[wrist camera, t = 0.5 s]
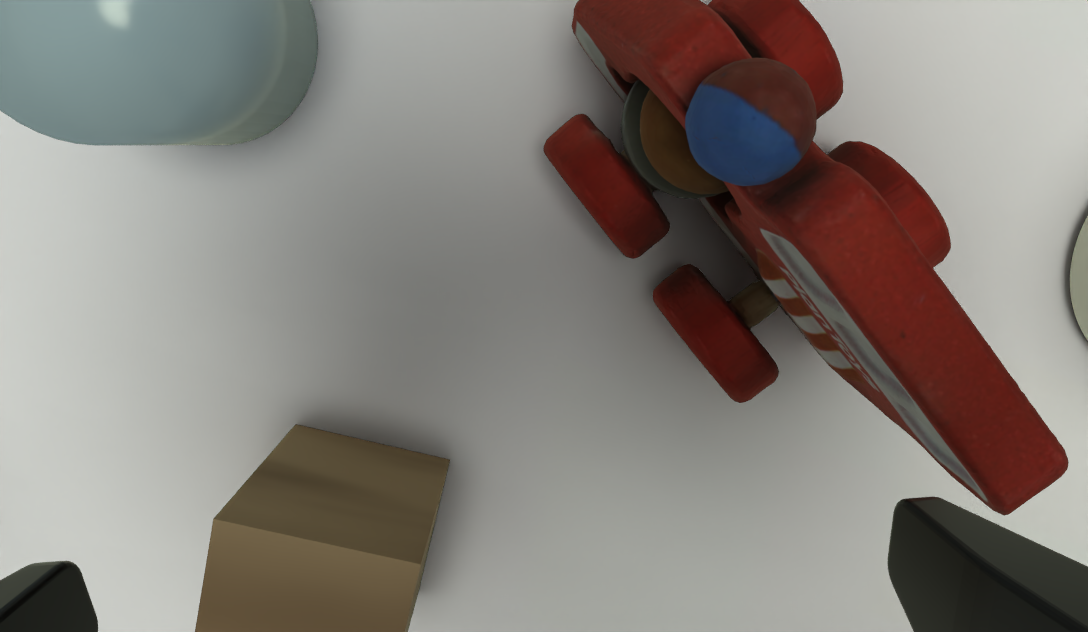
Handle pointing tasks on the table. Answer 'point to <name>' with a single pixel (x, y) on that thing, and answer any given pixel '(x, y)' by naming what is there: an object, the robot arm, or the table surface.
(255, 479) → the walnut block
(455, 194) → the table surface
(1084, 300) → the pill bottle
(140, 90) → the blue domed cylinder
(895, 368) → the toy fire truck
